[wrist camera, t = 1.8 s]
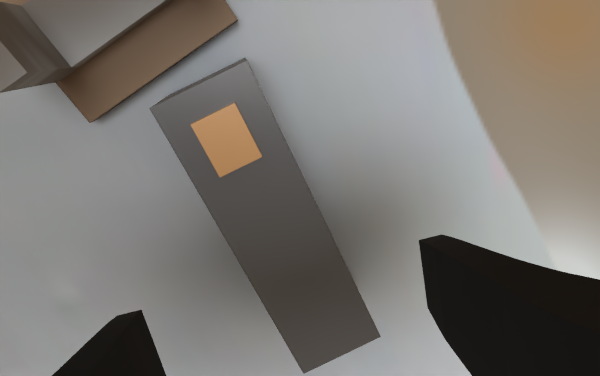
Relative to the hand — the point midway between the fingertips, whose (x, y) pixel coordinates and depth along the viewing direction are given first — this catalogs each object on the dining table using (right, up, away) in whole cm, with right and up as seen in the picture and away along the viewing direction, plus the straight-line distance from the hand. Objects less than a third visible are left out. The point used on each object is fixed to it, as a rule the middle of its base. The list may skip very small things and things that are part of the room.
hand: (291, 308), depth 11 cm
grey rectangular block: (-1, +3, +9) cm, 10 cm away
